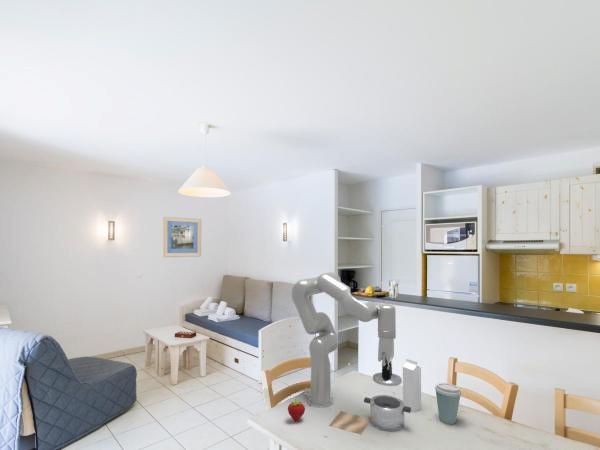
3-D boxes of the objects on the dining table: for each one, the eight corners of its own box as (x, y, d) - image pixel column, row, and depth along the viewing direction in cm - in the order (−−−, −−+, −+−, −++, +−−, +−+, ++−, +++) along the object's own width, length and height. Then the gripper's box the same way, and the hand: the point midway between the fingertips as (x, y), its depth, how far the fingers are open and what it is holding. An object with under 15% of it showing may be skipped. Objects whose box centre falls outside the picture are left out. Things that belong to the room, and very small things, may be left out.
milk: (413, 412, 154) (413, 363, 156) (402, 407, 159) (402, 359, 160) (421, 408, 158) (421, 360, 159) (410, 403, 163) (410, 357, 164)
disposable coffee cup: (434, 412, 154) (434, 379, 155) (460, 416, 151) (460, 382, 152) (435, 424, 144) (435, 388, 145) (463, 429, 141) (462, 392, 142)
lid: (369, 382, 143) (369, 367, 143) (376, 372, 153) (376, 359, 154) (398, 388, 137) (398, 372, 137) (404, 377, 148) (403, 363, 148)
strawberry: (305, 425, 143) (305, 401, 143) (287, 425, 142) (287, 401, 143) (304, 418, 148) (304, 394, 149) (287, 418, 148) (287, 394, 149)
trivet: (328, 426, 142) (328, 425, 142) (340, 412, 154) (340, 410, 154) (361, 435, 135) (361, 434, 135) (371, 419, 147) (370, 418, 147)
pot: (359, 425, 143) (359, 403, 143) (369, 411, 155) (369, 391, 155) (407, 438, 133) (407, 415, 134) (413, 422, 146) (413, 400, 146)
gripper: (382, 328, 155) (383, 369, 154) (373, 337, 141) (373, 382, 140) (399, 330, 152) (399, 372, 151) (391, 339, 137) (391, 385, 136)
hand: (387, 376), depth 145 cm, fingers closed on lid, 3 cm apart
